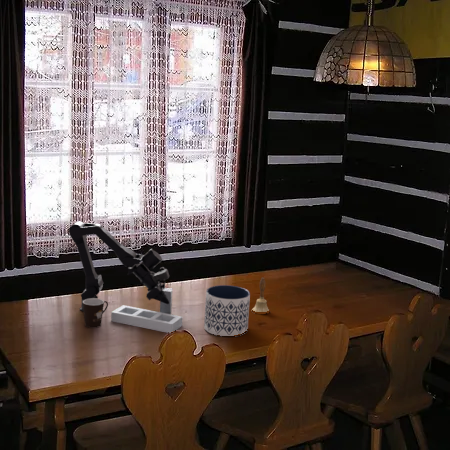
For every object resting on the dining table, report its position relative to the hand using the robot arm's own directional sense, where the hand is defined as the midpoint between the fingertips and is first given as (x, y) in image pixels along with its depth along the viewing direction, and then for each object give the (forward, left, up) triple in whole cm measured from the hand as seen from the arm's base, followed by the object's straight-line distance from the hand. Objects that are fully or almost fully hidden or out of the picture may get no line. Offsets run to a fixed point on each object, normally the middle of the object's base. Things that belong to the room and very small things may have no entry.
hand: (169, 301), depth 298 cm
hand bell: (+39, -17, -7) cm, 43 cm away
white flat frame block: (-13, -2, -7) cm, 15 cm away
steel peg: (-1, +1, -7) cm, 7 cm away
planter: (+11, -25, -7) cm, 28 cm away
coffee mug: (-31, +8, -7) cm, 33 cm away
